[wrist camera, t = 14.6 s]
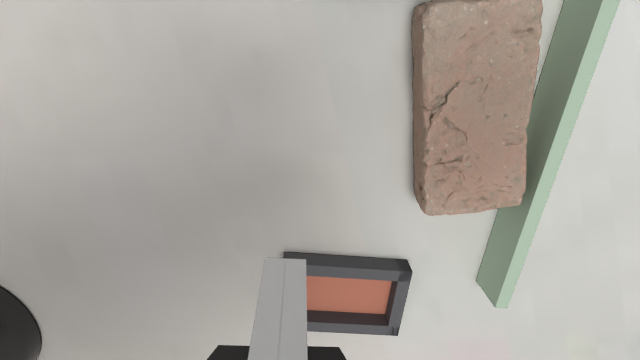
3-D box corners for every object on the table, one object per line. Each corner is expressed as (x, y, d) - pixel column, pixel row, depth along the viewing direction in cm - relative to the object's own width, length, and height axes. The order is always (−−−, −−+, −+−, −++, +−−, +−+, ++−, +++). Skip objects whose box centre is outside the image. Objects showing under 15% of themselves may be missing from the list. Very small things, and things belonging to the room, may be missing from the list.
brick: (407, 6, 27) (426, -1, 23) (515, -7, 27) (554, -16, 23) (409, 197, 33) (424, 221, 29) (497, 188, 33) (525, 210, 29)
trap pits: (280, 315, 37) (278, 329, 35) (314, -162, 23) (314, -180, 21) (393, 321, 38) (397, 335, 36) (494, -136, 24) (510, -151, 22)
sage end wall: (476, 280, 37) (495, 307, 33) (571, -23, 26) (614, -34, 23) (487, 281, 37) (507, 308, 33) (586, -21, 27) (631, -32, 23)
